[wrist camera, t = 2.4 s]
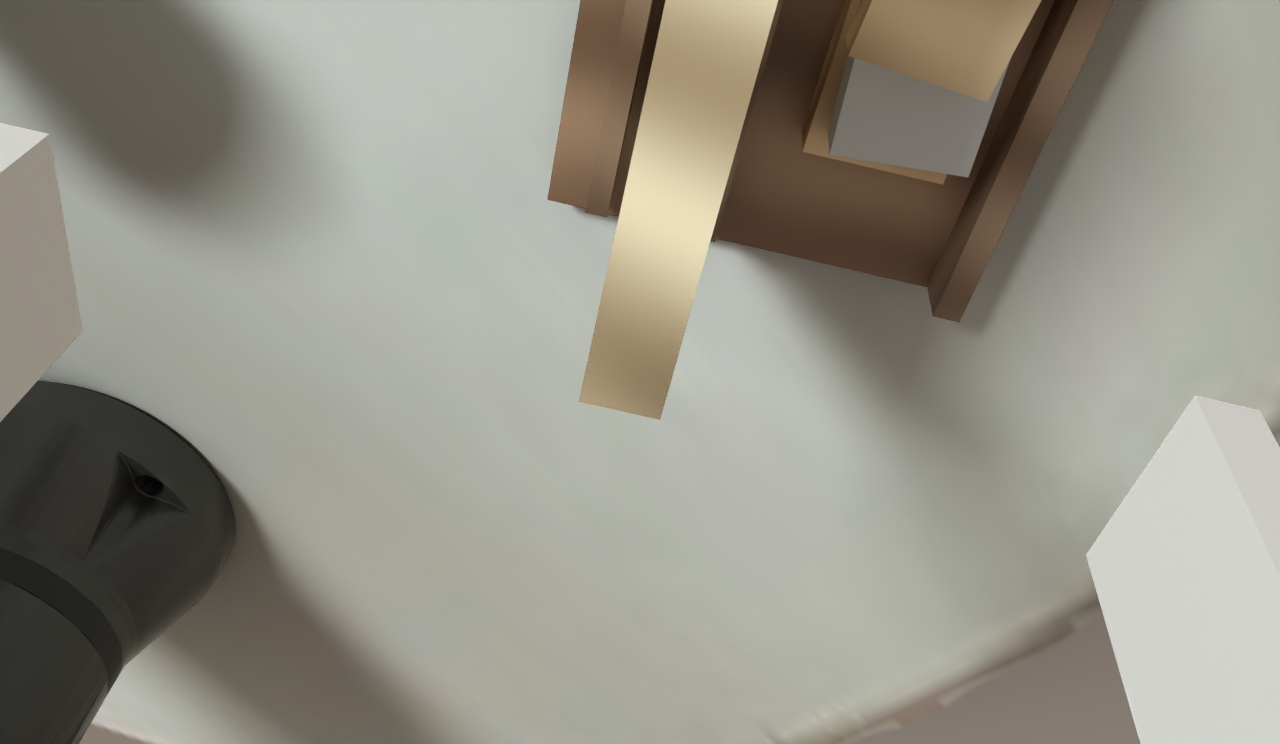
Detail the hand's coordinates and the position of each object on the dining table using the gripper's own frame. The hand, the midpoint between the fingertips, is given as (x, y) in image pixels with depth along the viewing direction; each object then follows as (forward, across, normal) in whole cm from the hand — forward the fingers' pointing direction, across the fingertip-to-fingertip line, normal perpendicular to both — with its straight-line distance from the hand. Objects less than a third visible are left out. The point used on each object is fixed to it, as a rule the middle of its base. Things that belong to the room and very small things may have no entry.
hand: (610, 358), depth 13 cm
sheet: (+26, 0, 0) cm, 26 cm away
